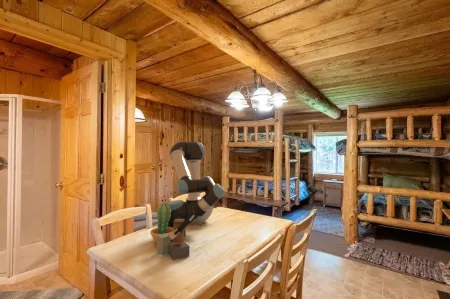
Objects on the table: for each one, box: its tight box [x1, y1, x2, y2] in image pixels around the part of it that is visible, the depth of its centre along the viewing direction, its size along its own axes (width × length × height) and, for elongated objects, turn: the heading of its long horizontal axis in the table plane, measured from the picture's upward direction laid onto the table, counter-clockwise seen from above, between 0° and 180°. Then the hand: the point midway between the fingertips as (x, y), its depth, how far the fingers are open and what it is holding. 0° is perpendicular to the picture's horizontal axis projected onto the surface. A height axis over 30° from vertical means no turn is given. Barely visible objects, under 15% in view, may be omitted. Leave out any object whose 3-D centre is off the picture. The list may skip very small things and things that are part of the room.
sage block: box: [156, 233, 171, 257], centre depth 133 cm, size 5×5×10 cm
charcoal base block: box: [167, 240, 190, 261], centre depth 130 cm, size 9×9×6 cm
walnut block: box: [172, 219, 185, 244], centre depth 130 cm, size 5×5×12 cm
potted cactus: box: [149, 202, 173, 246], centre depth 146 cm, size 15×15×25 cm
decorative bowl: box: [189, 206, 214, 226], centre depth 190 cm, size 27×27×12 cm
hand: (172, 235), depth 130 cm, fingers closed on walnut block, 5 cm apart
